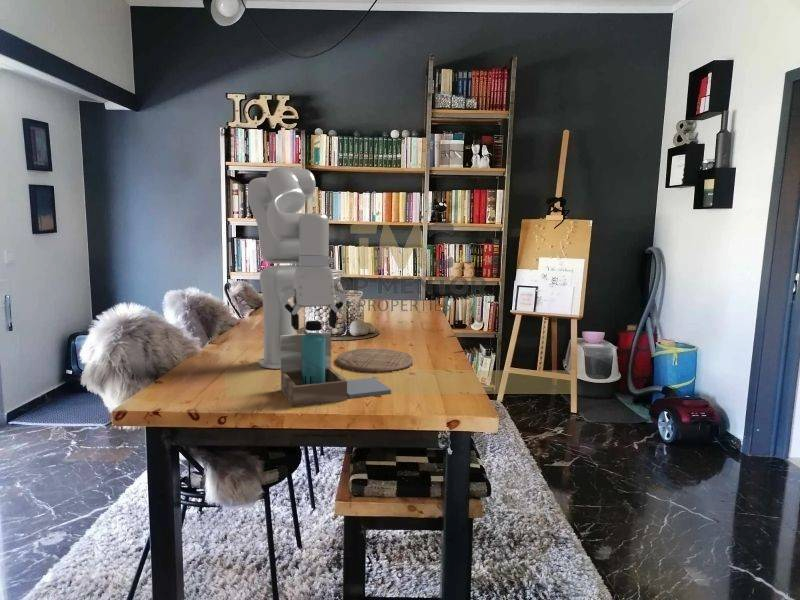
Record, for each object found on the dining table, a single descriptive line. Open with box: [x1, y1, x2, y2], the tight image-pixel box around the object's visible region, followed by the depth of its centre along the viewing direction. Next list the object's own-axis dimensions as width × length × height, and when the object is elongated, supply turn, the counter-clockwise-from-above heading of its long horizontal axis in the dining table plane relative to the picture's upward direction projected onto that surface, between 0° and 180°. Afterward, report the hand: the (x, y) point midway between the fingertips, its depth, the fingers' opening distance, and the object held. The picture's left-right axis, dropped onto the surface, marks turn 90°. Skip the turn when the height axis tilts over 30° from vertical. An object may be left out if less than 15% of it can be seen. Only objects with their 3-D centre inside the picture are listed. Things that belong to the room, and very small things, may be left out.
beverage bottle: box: [301, 320, 326, 385], centre depth 138 cm, size 6×7×20 cm
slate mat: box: [346, 377, 392, 399], centre depth 146 cm, size 12×12×1 cm
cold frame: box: [280, 331, 348, 407], centre depth 139 cm, size 15×14×15 cm
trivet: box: [336, 348, 414, 374], centre depth 174 cm, size 25×25×2 cm
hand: (314, 328), depth 137 cm, fingers open, 9 cm apart
